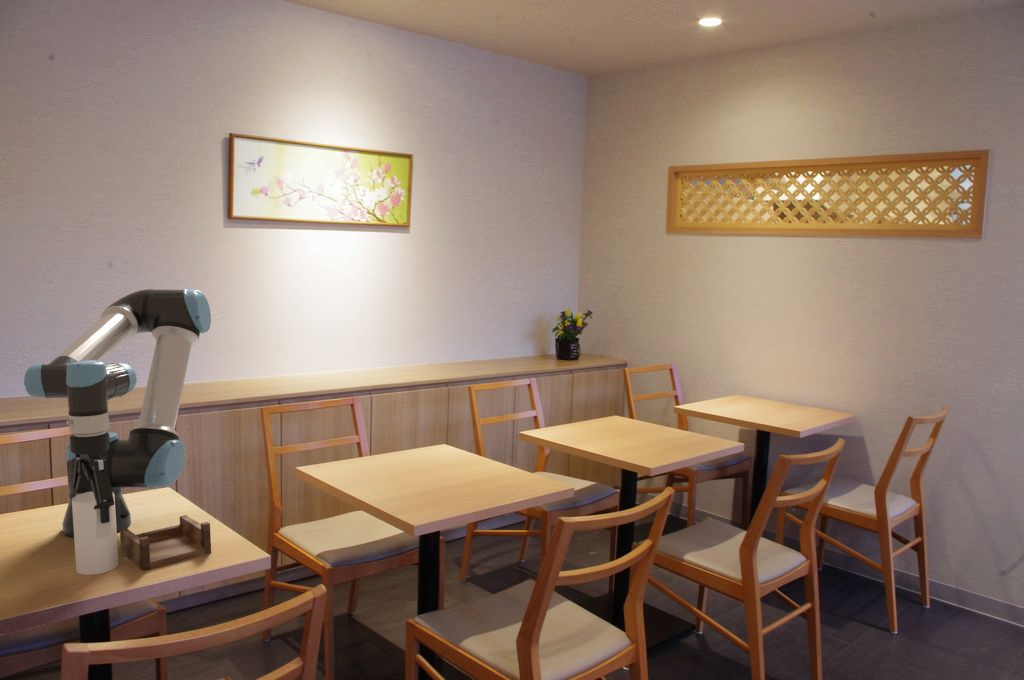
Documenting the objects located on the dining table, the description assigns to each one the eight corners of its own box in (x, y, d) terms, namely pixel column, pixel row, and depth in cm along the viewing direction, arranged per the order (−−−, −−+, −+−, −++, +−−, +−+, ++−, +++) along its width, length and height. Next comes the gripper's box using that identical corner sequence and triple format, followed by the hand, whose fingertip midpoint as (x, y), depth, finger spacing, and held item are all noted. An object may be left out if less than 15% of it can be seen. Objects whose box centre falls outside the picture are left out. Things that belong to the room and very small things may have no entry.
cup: (89, 578, 168) (85, 504, 167) (68, 569, 173) (63, 498, 171) (126, 565, 175) (122, 494, 174) (104, 557, 180) (100, 488, 178)
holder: (121, 553, 182) (119, 523, 181) (186, 536, 192) (185, 508, 192) (143, 570, 172) (141, 539, 171) (211, 552, 182) (209, 523, 182)
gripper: (53, 426, 177) (58, 519, 179) (88, 445, 159) (93, 548, 161) (90, 422, 182) (94, 512, 184) (127, 439, 164) (132, 539, 166)
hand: (94, 529), depth 173 cm, fingers open, 13 cm apart
